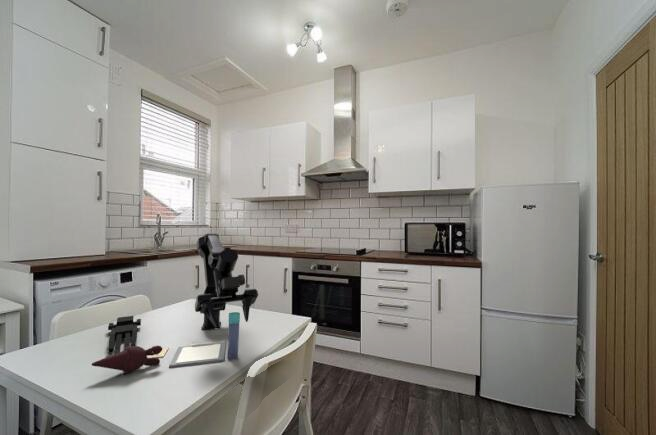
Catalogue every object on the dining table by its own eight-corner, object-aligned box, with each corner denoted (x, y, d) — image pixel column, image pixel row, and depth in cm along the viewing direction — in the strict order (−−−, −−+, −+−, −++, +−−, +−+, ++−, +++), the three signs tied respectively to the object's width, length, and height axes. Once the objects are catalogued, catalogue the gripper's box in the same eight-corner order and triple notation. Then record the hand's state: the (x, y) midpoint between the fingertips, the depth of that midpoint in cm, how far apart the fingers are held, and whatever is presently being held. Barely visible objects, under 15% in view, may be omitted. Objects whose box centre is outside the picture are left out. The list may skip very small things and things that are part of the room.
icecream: (90, 361, 64) (163, 352, 72) (96, 342, 70) (163, 336, 78) (86, 387, 65) (159, 375, 73) (92, 366, 71) (159, 357, 79)
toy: (140, 362, 79) (140, 326, 103) (141, 346, 79) (141, 314, 104) (98, 371, 73) (108, 331, 98) (99, 354, 74) (109, 318, 98)
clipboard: (178, 348, 86) (178, 344, 86) (225, 344, 90) (225, 340, 90) (168, 367, 74) (169, 362, 74) (223, 361, 79) (223, 356, 79)
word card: (154, 349, 84) (154, 348, 84) (168, 348, 86) (168, 347, 86) (147, 358, 79) (147, 357, 79) (163, 357, 80) (163, 355, 80)
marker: (227, 356, 82) (229, 312, 82) (238, 354, 83) (240, 311, 83) (226, 361, 79) (228, 315, 79) (238, 359, 80) (240, 315, 80)
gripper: (198, 268, 82) (203, 314, 73) (257, 265, 93) (269, 305, 84) (192, 289, 88) (197, 334, 79) (248, 284, 99) (258, 323, 90)
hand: (232, 323), depth 83 cm, fingers open, 9 cm apart
